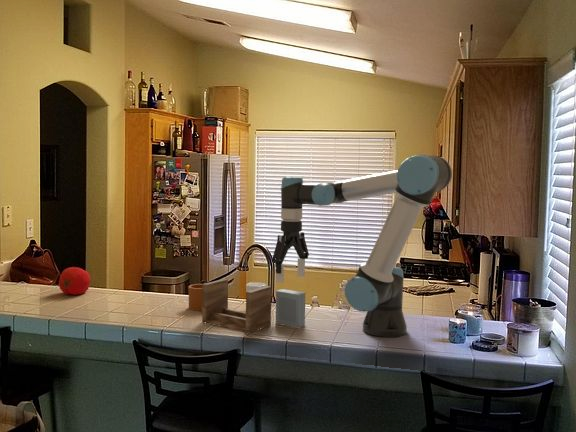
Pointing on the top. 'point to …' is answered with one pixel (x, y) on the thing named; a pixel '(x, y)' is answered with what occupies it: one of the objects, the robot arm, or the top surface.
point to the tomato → (74, 281)
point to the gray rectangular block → (290, 308)
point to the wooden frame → (244, 321)
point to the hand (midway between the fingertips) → (290, 279)
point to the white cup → (254, 285)
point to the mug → (195, 297)
